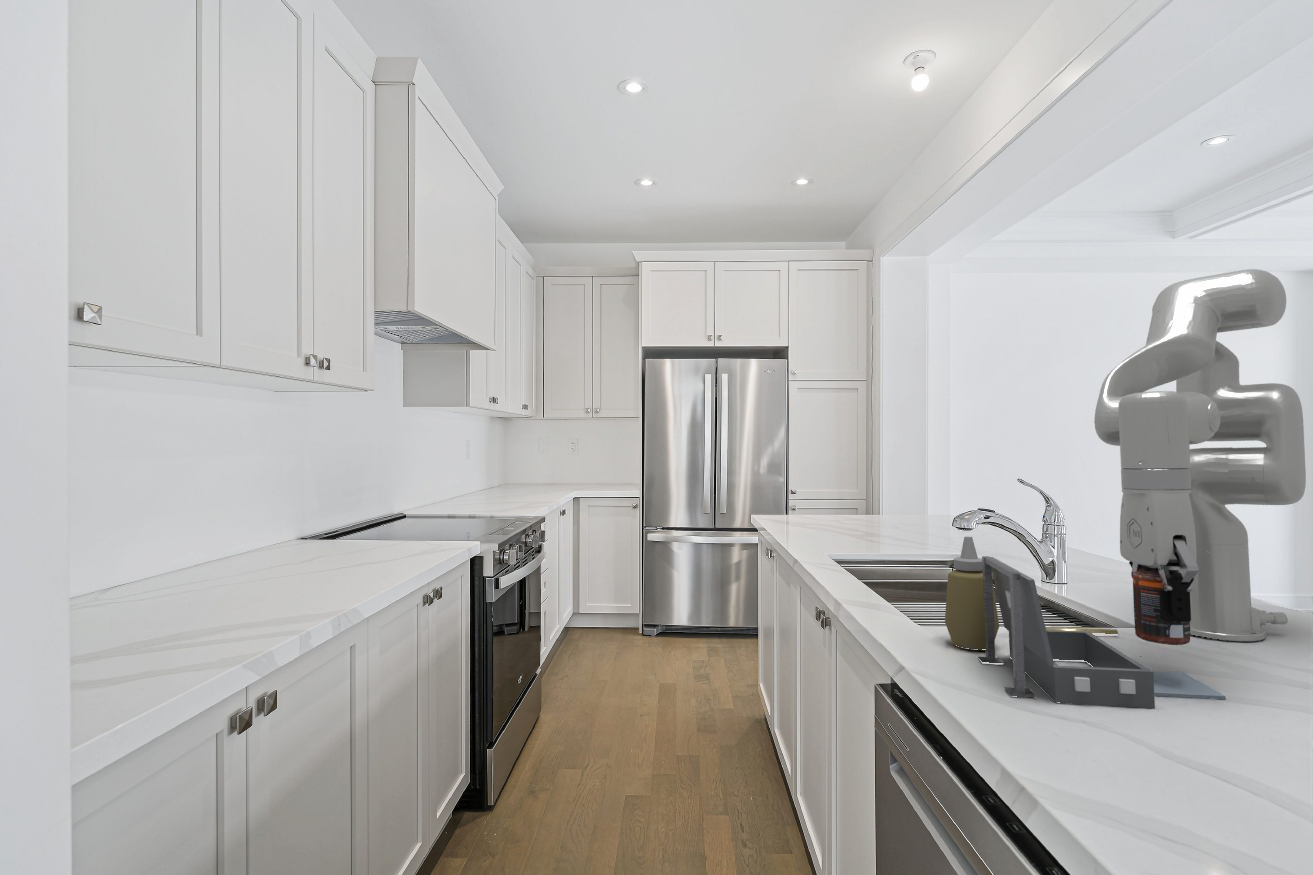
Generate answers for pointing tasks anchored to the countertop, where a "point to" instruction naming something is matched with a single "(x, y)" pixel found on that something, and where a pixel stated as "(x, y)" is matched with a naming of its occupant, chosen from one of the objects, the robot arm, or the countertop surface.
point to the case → (1090, 672)
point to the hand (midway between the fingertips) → (1161, 613)
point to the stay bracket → (1016, 624)
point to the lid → (1024, 613)
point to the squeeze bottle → (967, 600)
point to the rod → (1106, 631)
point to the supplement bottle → (1155, 610)
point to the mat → (1182, 686)
